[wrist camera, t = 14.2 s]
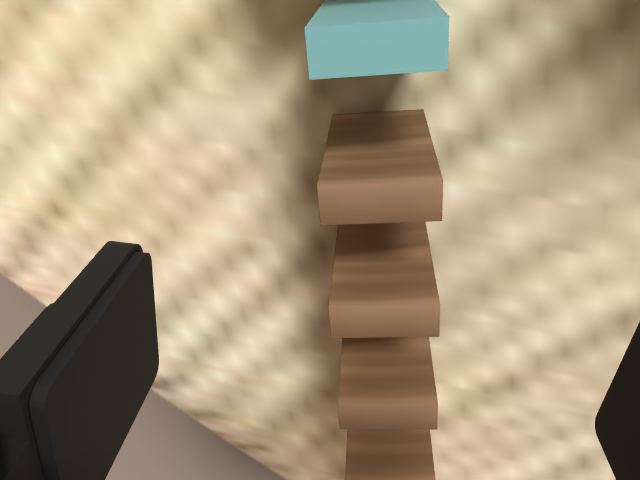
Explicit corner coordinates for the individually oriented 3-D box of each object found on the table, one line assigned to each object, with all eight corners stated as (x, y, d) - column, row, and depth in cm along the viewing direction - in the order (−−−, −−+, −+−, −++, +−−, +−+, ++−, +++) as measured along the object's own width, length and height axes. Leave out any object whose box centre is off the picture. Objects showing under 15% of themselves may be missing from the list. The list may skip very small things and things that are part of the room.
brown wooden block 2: (351, 361, 40) (345, 482, 31) (422, 360, 39) (435, 483, 30) (352, 380, 41) (346, 502, 32) (421, 380, 40) (435, 504, 31)
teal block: (425, 28, 28) (447, 70, 20) (328, 35, 29) (309, 79, 20) (425, -11, 28) (449, 16, 19) (326, -2, 28) (304, 28, 20)
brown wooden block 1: (333, 114, 31) (317, 185, 22) (423, 109, 31) (442, 180, 22) (335, 145, 32) (320, 225, 23) (423, 140, 31) (441, 220, 23)
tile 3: (340, 210, 34) (328, 306, 25) (422, 207, 33) (439, 304, 25) (341, 236, 35) (331, 338, 26) (422, 234, 34) (439, 336, 26)
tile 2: (346, 292, 37) (337, 403, 28) (422, 290, 36) (437, 403, 28) (347, 313, 38) (339, 428, 29) (422, 312, 37) (437, 429, 28)
